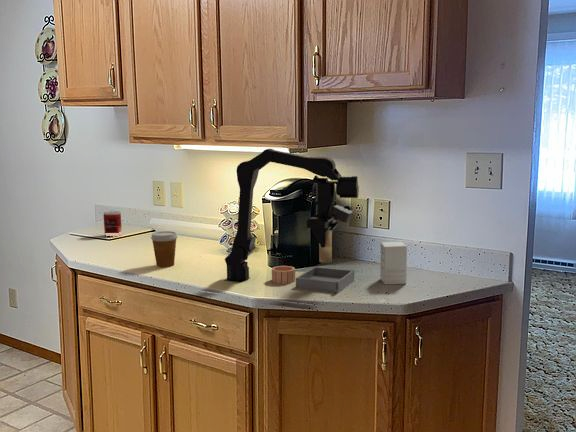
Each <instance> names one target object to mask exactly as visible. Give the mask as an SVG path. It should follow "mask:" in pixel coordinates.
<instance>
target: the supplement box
mask: <svg viewBox="0 0 576 432" xmlns="http://www.w3.org/2000/svg"><path fill="white" fill-rule="evenodd" d="M407 257H408V246H407V245H406V244H405V243H404V242H403V241H386V242H385V241H380V266H379V267H380V271H379V273H380V274H379V276H380V280H381V281H382V283H383V284H384V285H405V284H407V270H408V269H407V261H408V260H407Z"/></svg>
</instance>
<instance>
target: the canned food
mask: <svg viewBox="0 0 576 432" xmlns="http://www.w3.org/2000/svg"><path fill="white" fill-rule="evenodd" d="M121 214H122V213H121V211H117V210H111V211H110V210H109V211H105V212H104V211H103V228H104V234H105V233H119V232H121V231H122V215H121Z"/></svg>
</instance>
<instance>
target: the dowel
mask: <svg viewBox="0 0 576 432" xmlns="http://www.w3.org/2000/svg"><path fill="white" fill-rule="evenodd" d="M332 240H333V234H332V230H328V231H327V236H326V244H325V247H324V248H323V247H321V245H320V243H319V242H318V245H319V246H318V249H319V251H318V252H319V253H318V255H319V256H318V257H319V258H318V259H319V263H324V264H325V263H327V264H328V263H332V262H333V260H332V259H333V246H332V245H333V241H332Z"/></svg>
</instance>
